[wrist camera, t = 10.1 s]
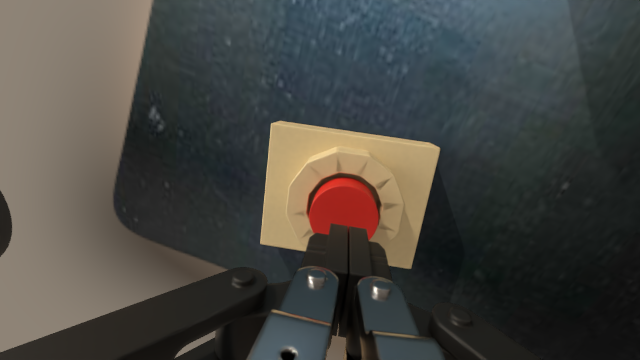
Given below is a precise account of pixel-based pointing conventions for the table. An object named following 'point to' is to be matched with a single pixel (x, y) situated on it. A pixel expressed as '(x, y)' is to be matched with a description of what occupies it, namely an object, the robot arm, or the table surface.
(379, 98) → the table surface
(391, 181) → the button box
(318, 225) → the red button
